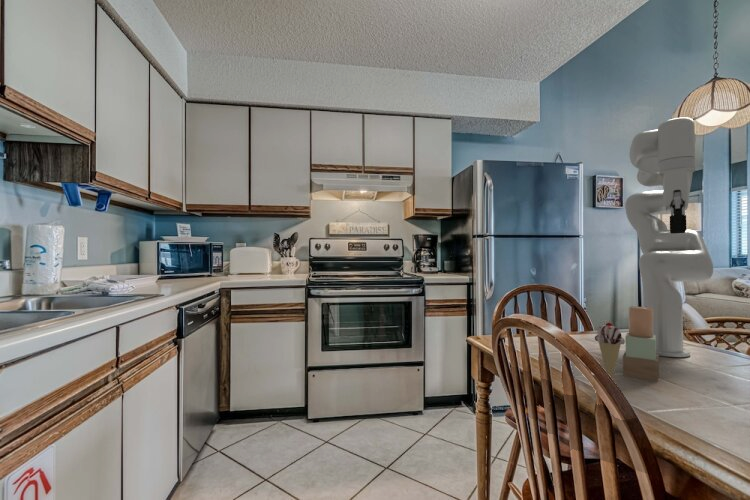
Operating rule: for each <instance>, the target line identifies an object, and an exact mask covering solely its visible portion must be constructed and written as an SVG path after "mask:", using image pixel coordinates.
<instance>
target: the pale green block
mask: <svg viewBox="0 0 750 500" xmlns="http://www.w3.org/2000/svg"><path fill="white" fill-rule="evenodd" d="M624 340H625V351H626V357H634V358H641V359H649V360H656V335H653V337H652V338H643V337H636V336H631V335H629V332H626V335H625V337H624Z"/></svg>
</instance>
